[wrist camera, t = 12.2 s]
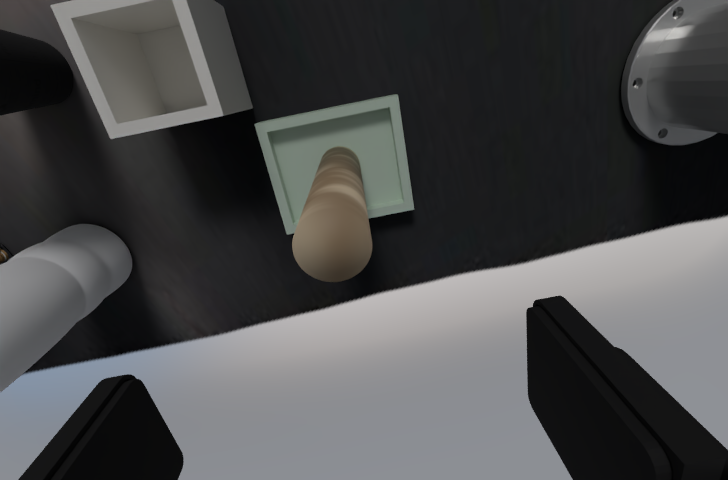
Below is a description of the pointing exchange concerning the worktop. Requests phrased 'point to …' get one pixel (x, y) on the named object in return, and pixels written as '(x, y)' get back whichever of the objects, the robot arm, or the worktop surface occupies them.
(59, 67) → the drinking cup
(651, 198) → the worktop surface
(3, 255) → the ammunition clip
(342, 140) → the tray
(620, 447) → the robot arm
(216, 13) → the holder
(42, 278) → the water bottle
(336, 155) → the dowel
